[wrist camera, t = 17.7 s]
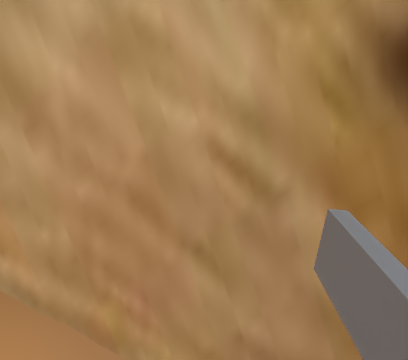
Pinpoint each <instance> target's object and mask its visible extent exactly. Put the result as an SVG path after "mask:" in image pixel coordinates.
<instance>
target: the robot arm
mask: <svg viewBox="0 0 408 360" xmlns="http://www.w3.org/2000/svg"><path fill="white" fill-rule="evenodd" d="M314 270H315V272H316V274H317V275H318V277H319V279H320V281H321V283H322V285H323V287H324V288H325V290H326V292H327V294H328V296H329V298H330V299H331V301H332V303H333V305H334V307H335V309H336V311H337V312H338V314H339V316H340V318H341V320H342V322H343V324H344V325H345V327H346V329H347V331H348V333H349V335H350V336H351V338H352V340H353V342H354V344H355V346H356V348H357V349H358V351H359V353H360V355H361V357H362V359H363V360H408V270H407V269H406V268H405V267H404V266H403V265H402V264H401V263H400V262H399V261H398V260H397V259H396V258H395V257H394V256H393V255H392V254H391V253H390V252H389V251H388V250H387V249H386V248H385V247H384V246H383V245H382V244H381V243H380V242H379V241H378V240H377V239H376V238H375V237H374V236H373V235H372V234H371V233H370V232H369V231H368V230H367V229H366V228H365V227H364V226H363V225H362V224H361V223H360V222H359V221H358V220H357V219H355V218H354V217H353V216H352V215H351V214H350V213H349V212H348V211H347V210H334V209H328V211H327V215H326V219H325V224H324V228H323V232H322V236H321V240H320V245H319V249H318V253H317V257H316V261H315V265H314Z"/></svg>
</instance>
